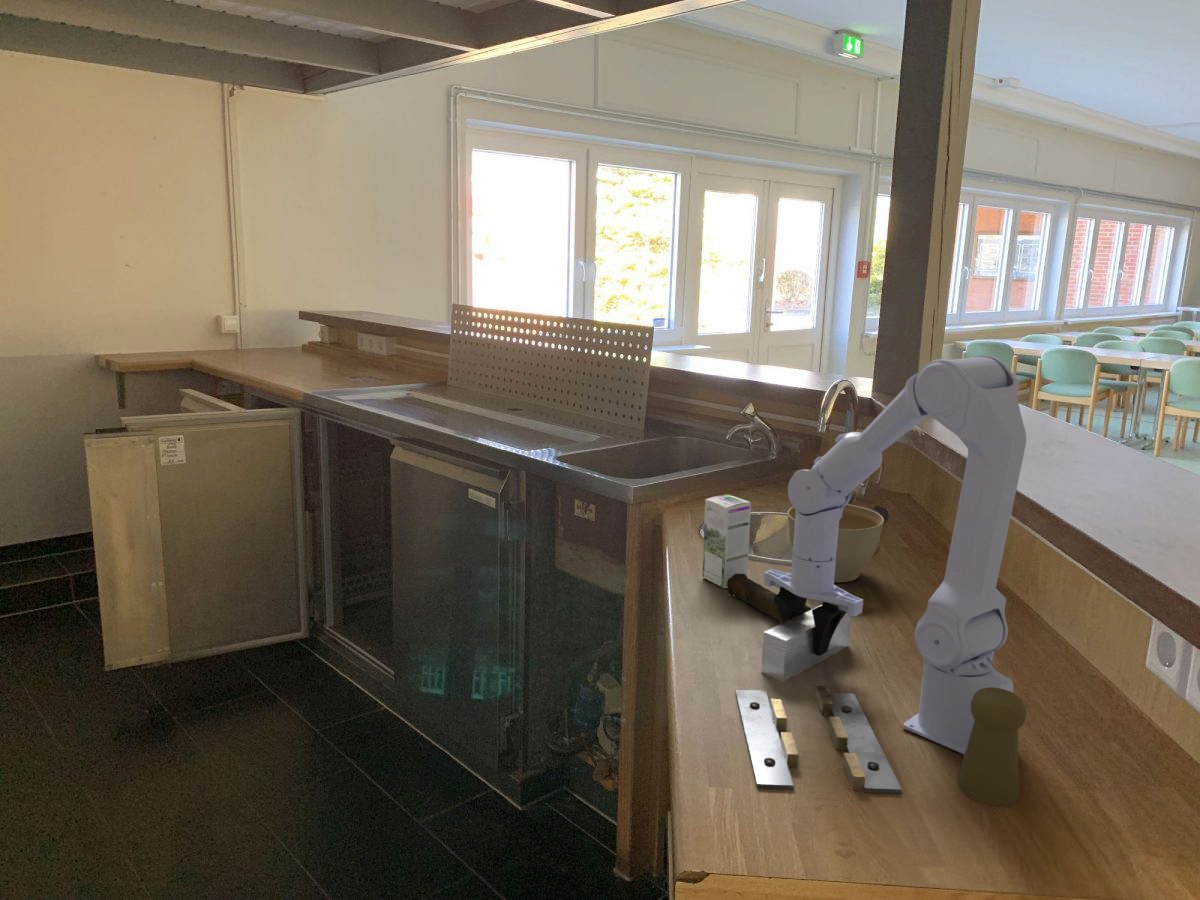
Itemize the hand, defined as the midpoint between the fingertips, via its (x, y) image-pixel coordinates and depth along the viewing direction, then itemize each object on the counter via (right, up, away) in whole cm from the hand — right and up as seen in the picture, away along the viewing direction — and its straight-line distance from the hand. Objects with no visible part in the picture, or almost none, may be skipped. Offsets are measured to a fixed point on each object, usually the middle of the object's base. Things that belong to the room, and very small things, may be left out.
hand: (807, 647), depth 119 cm
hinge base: (-4, -6, -19) cm, 21 cm away
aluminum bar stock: (0, -2, 0) cm, 2 cm away
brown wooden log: (-2, +1, +15) cm, 15 cm away
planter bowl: (+12, +5, +32) cm, 35 cm away
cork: (+12, -9, -28) cm, 32 cm away
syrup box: (-7, +5, +28) cm, 30 cm away
